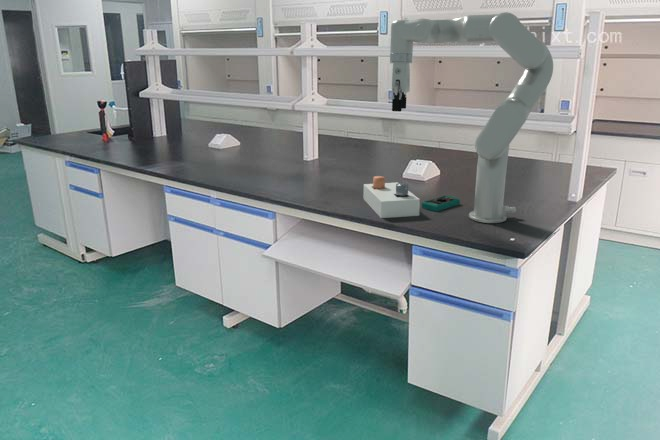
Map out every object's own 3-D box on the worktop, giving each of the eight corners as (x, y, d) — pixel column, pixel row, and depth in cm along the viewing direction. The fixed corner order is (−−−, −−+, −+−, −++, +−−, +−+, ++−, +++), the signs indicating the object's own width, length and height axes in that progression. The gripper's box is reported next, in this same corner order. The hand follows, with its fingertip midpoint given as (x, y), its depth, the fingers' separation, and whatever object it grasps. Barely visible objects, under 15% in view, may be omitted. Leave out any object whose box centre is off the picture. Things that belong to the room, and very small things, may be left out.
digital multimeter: (461, 205, 201) (461, 197, 200) (436, 213, 191) (436, 205, 190) (445, 201, 206) (445, 194, 205) (420, 209, 197) (420, 201, 196)
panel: (397, 196, 211) (397, 182, 210) (419, 215, 187) (419, 199, 185) (363, 199, 209) (363, 184, 207) (380, 218, 185) (381, 201, 183)
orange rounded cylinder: (382, 189, 205) (383, 175, 203) (386, 192, 201) (386, 178, 199) (371, 190, 204) (372, 176, 202) (374, 193, 200) (375, 178, 198)
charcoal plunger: (405, 197, 194) (406, 182, 192) (409, 200, 189) (410, 185, 188) (394, 198, 193) (394, 183, 191) (397, 201, 189) (398, 186, 187)
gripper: (408, 59, 171) (405, 112, 176) (415, 58, 187) (413, 107, 192) (385, 59, 173) (383, 112, 178) (394, 58, 189) (392, 107, 194)
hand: (399, 109), depth 185 cm, fingers open, 9 cm apart
